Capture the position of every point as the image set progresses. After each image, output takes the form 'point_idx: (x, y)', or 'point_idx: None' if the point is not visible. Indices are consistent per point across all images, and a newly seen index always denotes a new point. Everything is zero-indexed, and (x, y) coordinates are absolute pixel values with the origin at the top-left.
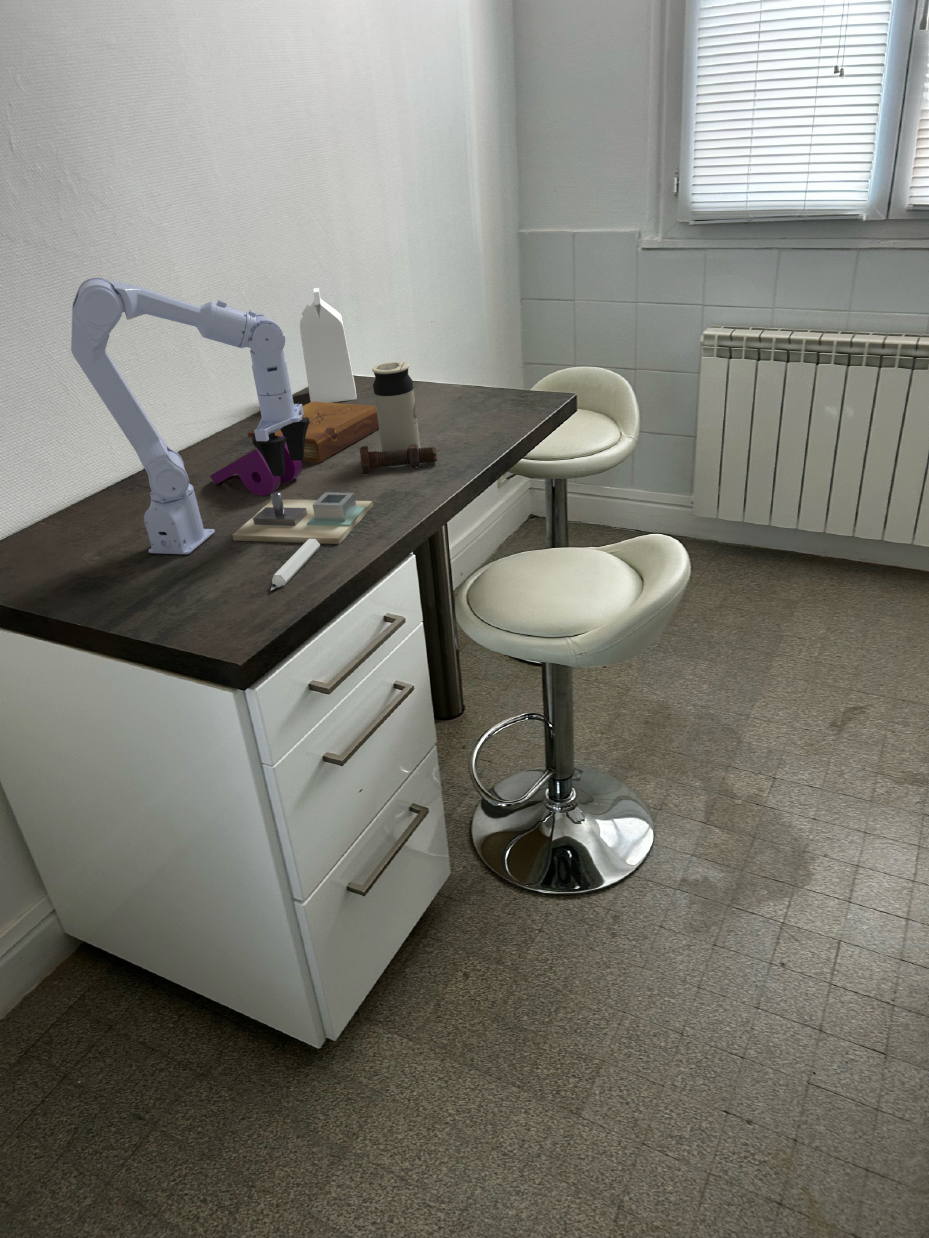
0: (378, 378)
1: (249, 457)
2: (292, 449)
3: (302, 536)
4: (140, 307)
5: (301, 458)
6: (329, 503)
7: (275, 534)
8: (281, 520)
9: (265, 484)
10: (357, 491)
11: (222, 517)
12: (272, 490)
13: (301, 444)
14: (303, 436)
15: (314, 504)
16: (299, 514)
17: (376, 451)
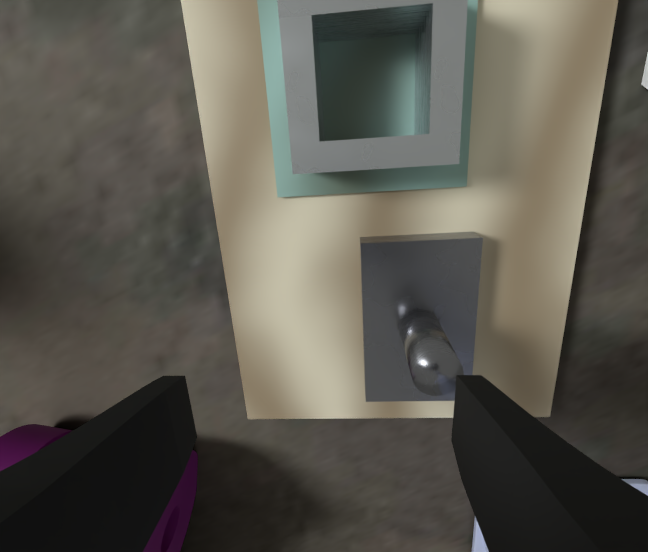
0: None
1: None
2: (155, 486)
3: (586, 147)
4: None
5: (179, 386)
6: (439, 67)
7: (554, 273)
8: (476, 292)
9: (181, 482)
10: (70, 157)
11: (368, 501)
12: None
13: (104, 450)
14: (14, 495)
15: (455, 153)
16: (428, 240)
17: None
